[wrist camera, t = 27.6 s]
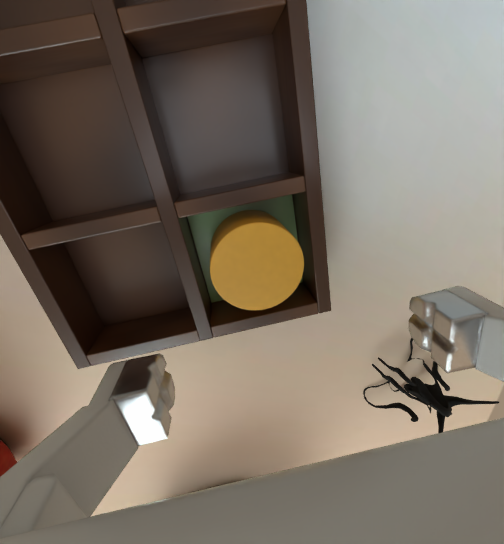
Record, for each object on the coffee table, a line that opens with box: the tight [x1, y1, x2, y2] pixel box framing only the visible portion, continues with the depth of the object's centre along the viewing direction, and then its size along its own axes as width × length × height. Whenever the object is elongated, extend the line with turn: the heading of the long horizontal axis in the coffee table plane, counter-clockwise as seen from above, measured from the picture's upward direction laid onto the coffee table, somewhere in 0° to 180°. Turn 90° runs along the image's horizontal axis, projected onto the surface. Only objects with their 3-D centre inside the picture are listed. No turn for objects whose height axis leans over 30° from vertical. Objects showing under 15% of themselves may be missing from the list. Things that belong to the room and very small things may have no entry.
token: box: [210, 210, 304, 310], centre depth 16 cm, size 5×5×3 cm
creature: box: [363, 338, 499, 433], centre depth 22 cm, size 8×5×8 cm
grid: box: [0, 0, 331, 369], centre depth 14 cm, size 15×23×4 cm
